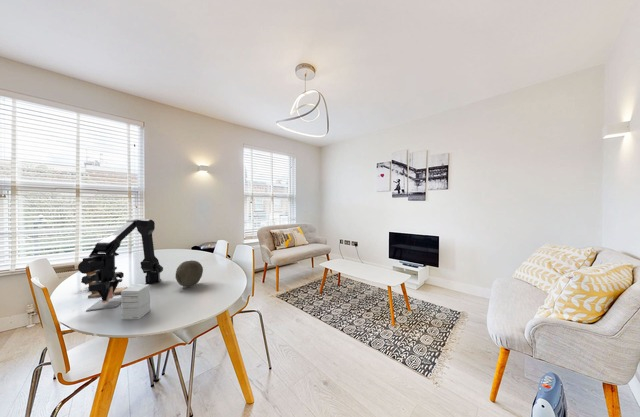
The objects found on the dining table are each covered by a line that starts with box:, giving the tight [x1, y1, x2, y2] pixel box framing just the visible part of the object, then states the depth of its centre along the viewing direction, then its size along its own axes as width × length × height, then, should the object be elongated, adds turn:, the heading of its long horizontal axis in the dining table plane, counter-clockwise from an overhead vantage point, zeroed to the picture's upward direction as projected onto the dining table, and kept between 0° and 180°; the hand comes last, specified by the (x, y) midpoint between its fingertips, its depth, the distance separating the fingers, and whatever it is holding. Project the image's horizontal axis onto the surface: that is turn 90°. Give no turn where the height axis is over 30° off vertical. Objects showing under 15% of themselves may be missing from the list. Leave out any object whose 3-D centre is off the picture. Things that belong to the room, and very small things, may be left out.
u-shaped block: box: [101, 286, 114, 303], centre depth 108 cm, size 2×5×6 cm, turn 21°
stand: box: [87, 278, 128, 299], centre depth 121 cm, size 14×8×7 cm, turn 111°
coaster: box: [85, 296, 121, 312], centre depth 108 cm, size 11×11×1 cm
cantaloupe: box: [175, 259, 204, 288], centre depth 132 cm, size 14×14×15 cm
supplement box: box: [120, 284, 151, 320], centre depth 98 cm, size 7×7×13 cm
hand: (107, 298), depth 108 cm, fingers closed on u-shaped block, 5 cm apart
